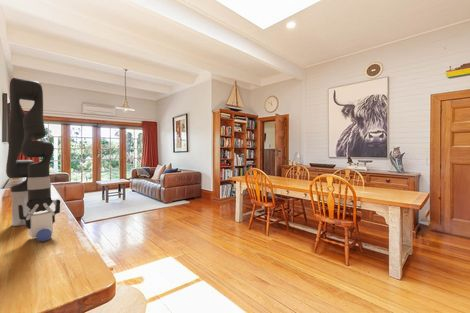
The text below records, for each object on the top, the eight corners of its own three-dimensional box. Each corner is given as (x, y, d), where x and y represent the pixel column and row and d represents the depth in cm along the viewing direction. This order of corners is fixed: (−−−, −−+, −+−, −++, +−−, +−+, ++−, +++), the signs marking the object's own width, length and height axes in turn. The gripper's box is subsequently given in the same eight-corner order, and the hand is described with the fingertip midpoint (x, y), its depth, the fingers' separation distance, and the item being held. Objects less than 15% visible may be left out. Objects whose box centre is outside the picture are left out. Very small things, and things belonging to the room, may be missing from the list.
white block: (28, 234, 98) (28, 213, 98) (49, 230, 103) (48, 210, 103) (31, 237, 94) (31, 216, 93) (52, 233, 99) (52, 212, 99)
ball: (34, 230, 94) (36, 231, 91) (49, 226, 98) (52, 227, 95) (35, 242, 94) (37, 244, 91) (50, 238, 98) (53, 240, 94)
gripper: (57, 184, 106) (59, 220, 106) (14, 189, 95) (16, 229, 95) (62, 186, 101) (63, 223, 101) (17, 190, 90) (19, 232, 90)
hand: (40, 226), depth 98 cm, fingers closed on white block, 7 cm apart
